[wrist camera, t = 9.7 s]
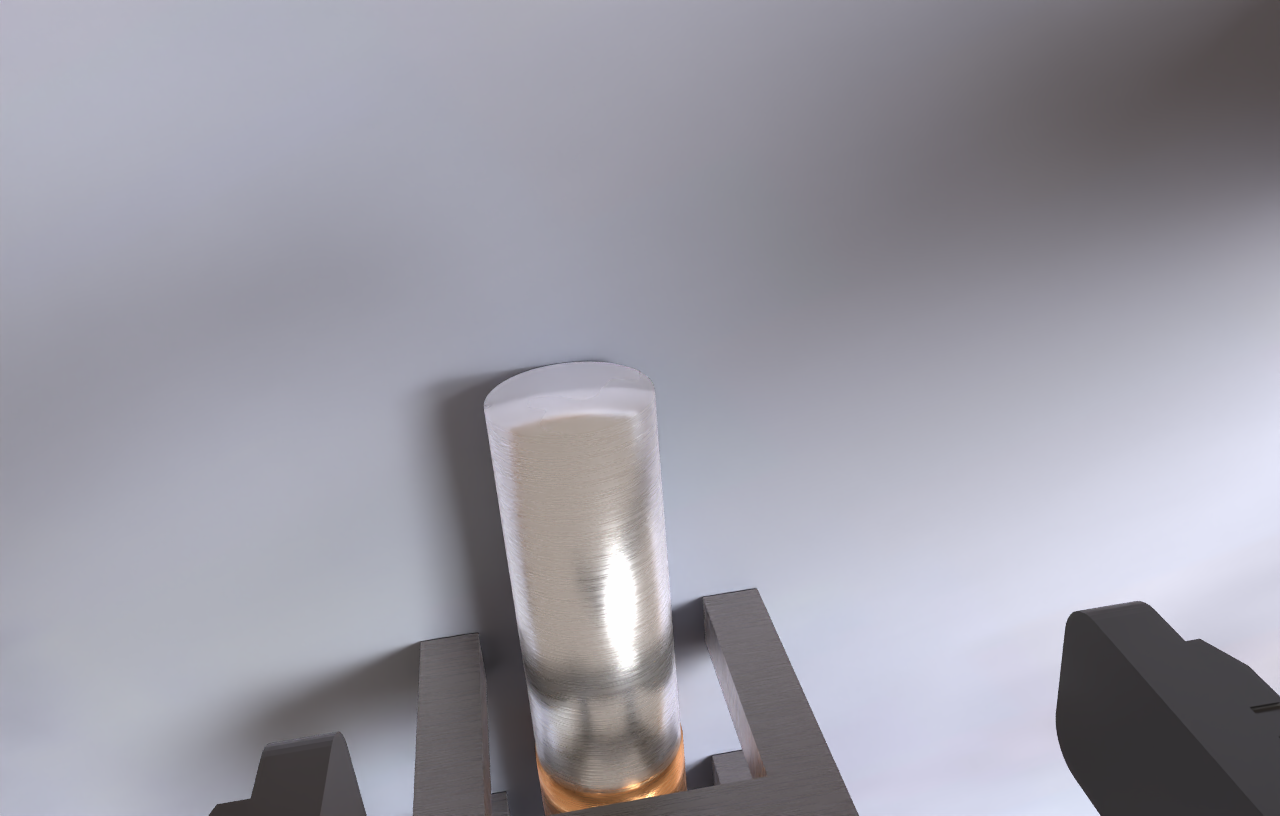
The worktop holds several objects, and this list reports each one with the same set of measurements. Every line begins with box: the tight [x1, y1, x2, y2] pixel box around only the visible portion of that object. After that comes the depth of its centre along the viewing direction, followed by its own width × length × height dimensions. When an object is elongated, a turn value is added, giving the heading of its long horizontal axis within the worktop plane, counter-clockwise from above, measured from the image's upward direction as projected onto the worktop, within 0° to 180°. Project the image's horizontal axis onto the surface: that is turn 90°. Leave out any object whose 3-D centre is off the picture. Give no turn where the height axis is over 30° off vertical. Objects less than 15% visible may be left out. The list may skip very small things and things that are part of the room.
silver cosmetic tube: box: [484, 362, 687, 816], centre depth 28 cm, size 16×4×4 cm, turn 4°
